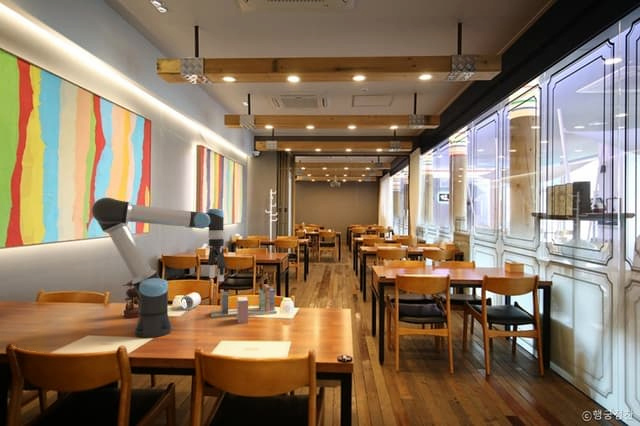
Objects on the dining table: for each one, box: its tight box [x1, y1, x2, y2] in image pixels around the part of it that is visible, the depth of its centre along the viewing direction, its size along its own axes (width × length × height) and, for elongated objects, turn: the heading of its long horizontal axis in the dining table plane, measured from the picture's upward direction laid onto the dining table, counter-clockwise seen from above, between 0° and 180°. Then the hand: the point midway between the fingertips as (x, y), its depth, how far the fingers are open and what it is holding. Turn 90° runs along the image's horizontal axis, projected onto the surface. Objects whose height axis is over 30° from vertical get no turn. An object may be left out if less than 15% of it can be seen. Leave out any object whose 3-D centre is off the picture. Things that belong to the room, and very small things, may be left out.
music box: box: [122, 279, 140, 320], centre depth 198 cm, size 15×11×20 cm
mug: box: [180, 291, 202, 311], centre depth 215 cm, size 12×10×8 cm
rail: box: [210, 284, 278, 319], centre depth 204 cm, size 11×34×14 cm, turn 106°
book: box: [236, 296, 249, 324], centre depth 189 cm, size 9×5×11 cm, turn 16°
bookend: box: [221, 291, 229, 314], centre depth 201 cm, size 9×3×10 cm, turn 16°
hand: (216, 279), depth 195 cm, fingers open, 13 cm apart
